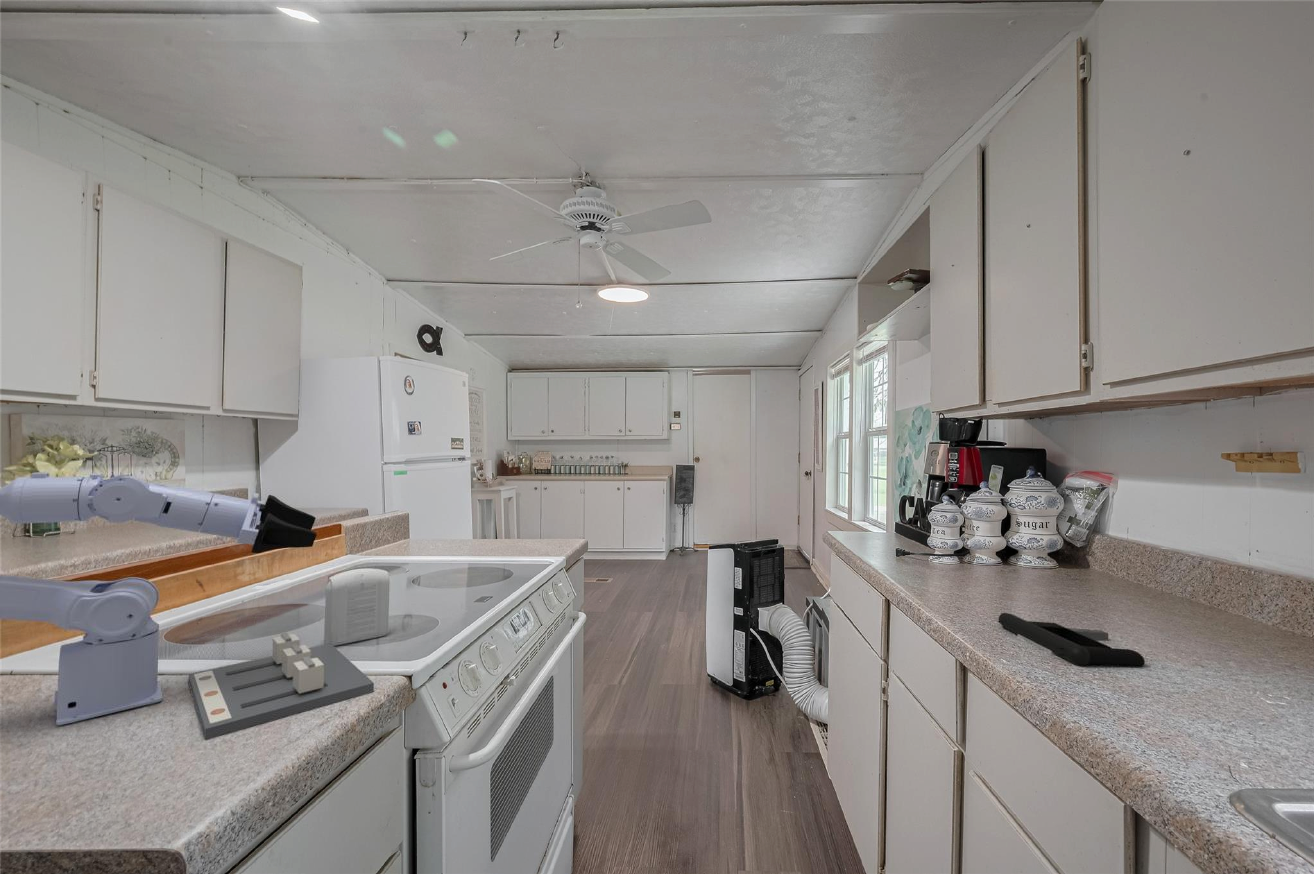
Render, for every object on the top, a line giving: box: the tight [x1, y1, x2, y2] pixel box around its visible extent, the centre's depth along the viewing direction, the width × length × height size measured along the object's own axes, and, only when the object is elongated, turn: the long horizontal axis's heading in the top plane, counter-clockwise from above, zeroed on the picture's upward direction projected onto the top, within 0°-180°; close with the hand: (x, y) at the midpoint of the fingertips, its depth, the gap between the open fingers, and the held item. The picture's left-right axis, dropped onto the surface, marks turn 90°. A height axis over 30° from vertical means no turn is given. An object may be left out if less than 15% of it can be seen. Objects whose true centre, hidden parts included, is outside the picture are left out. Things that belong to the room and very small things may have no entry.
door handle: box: [996, 612, 1146, 668], centre depth 94 cm, size 3×20×16 cm
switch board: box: [188, 644, 375, 740], centre depth 77 cm, size 18×22×1 cm
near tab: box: [293, 657, 324, 694], centre depth 73 cm, size 3×4×3 cm
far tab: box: [271, 632, 301, 664], centre depth 83 cm, size 3×4×3 cm
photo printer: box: [323, 567, 390, 647], centre depth 97 cm, size 10×4×12 cm, turn 134°
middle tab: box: [282, 644, 311, 678], centre depth 78 cm, size 3×4×3 cm
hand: (314, 531), depth 85 cm, fingers open, 7 cm apart
